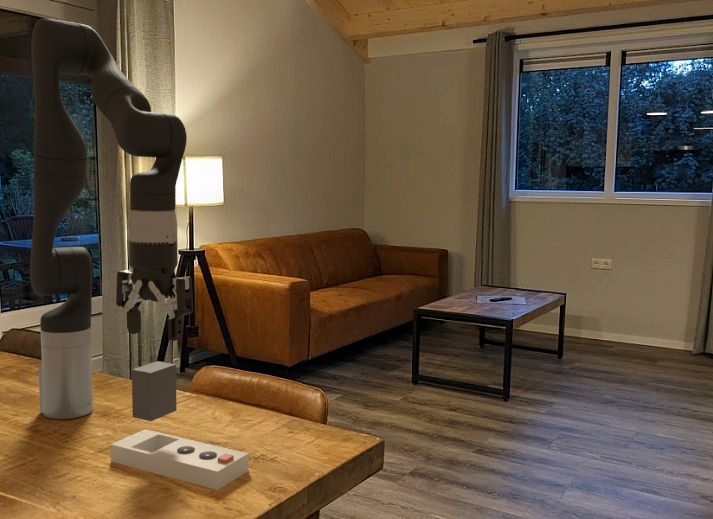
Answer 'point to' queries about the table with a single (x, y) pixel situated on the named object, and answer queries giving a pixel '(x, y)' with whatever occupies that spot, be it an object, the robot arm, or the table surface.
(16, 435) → the table surface
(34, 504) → the table surface
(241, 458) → the power strip
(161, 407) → the charcoal plug
